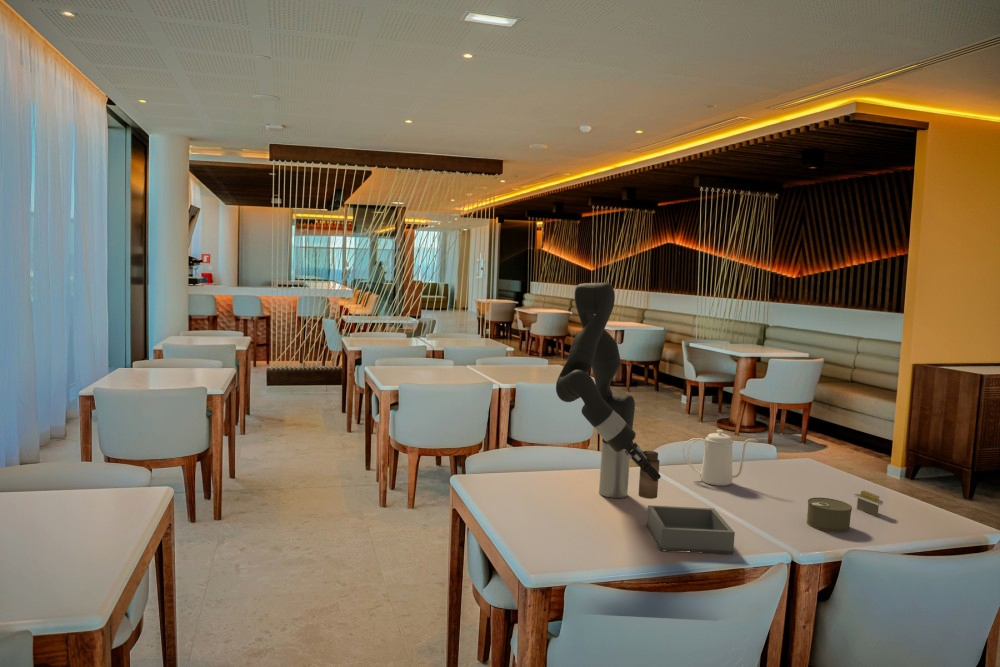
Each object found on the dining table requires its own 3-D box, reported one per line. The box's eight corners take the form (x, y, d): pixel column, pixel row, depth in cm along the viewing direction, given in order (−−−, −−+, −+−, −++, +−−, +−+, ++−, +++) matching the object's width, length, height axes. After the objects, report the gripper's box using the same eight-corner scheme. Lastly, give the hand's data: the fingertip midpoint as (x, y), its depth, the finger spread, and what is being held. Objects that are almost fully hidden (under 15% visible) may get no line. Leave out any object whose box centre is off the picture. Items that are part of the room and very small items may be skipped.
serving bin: (646, 525, 208) (647, 505, 208) (712, 528, 208) (714, 508, 207) (660, 551, 189) (662, 528, 189) (733, 554, 189) (734, 532, 188)
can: (859, 533, 210) (861, 510, 210) (821, 533, 208) (823, 510, 208) (833, 519, 222) (835, 497, 221) (797, 519, 220) (799, 497, 219)
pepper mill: (637, 492, 199) (639, 449, 198) (655, 493, 199) (658, 450, 198) (640, 498, 194) (642, 454, 193) (658, 499, 194) (661, 455, 193)
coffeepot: (754, 491, 247) (759, 437, 245) (680, 481, 255) (683, 429, 253) (754, 483, 257) (758, 431, 256) (682, 473, 265) (686, 423, 264)
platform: (860, 503, 240) (861, 484, 240) (907, 522, 223) (909, 501, 223) (832, 506, 236) (834, 486, 235) (878, 525, 219) (880, 504, 219)
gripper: (628, 427, 187) (672, 474, 188) (621, 415, 202) (661, 459, 203) (607, 446, 188) (650, 493, 189) (601, 433, 202) (641, 477, 203)
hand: (656, 475), depth 196 cm, fingers closed on pepper mill, 5 cm apart
